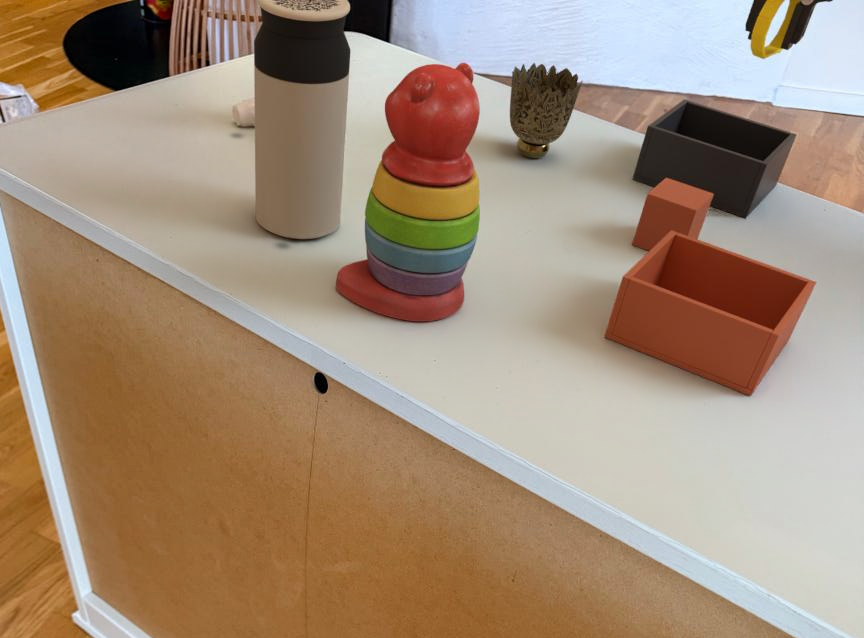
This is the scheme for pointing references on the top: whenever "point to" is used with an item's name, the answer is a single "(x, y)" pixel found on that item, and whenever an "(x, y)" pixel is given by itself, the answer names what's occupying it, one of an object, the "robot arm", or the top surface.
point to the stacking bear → (421, 201)
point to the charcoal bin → (715, 155)
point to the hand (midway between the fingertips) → (769, 42)
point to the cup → (541, 107)
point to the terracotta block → (671, 212)
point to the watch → (763, 26)
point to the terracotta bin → (708, 310)
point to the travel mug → (300, 115)
